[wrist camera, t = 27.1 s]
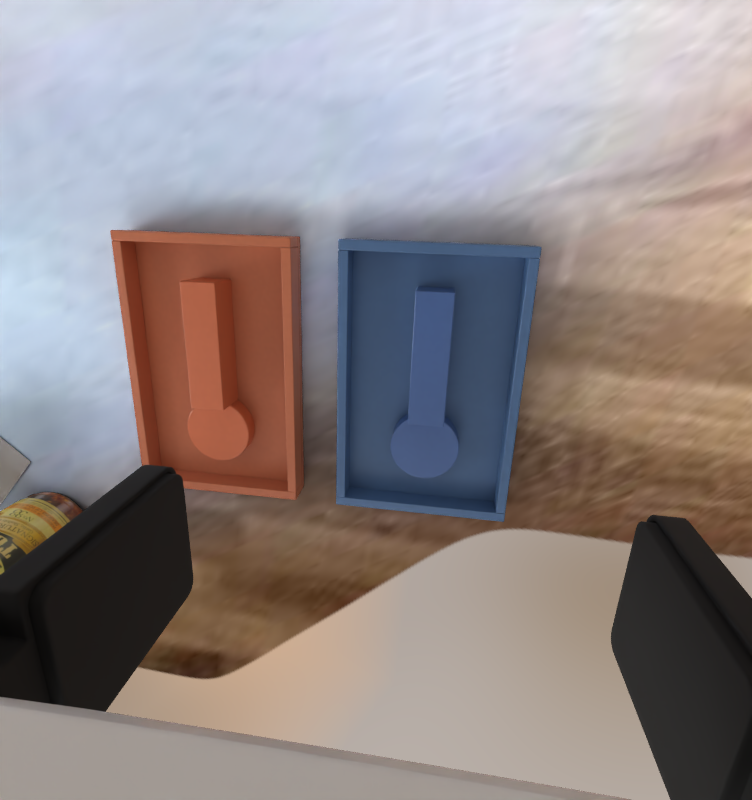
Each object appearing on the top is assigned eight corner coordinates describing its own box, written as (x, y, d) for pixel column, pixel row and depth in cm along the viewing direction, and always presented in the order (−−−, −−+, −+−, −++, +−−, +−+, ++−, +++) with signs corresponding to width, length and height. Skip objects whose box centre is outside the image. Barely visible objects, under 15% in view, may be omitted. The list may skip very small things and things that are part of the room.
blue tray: (345, 238, 30) (338, 238, 28) (535, 245, 29) (541, 246, 27) (342, 490, 36) (336, 504, 34) (500, 506, 34) (504, 521, 32)
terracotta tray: (129, 230, 32) (109, 230, 30) (300, 236, 30) (290, 237, 28) (159, 471, 37) (144, 484, 35) (304, 486, 36) (296, 500, 34)
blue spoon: (399, 285, 30) (395, 289, 28) (473, 288, 29) (475, 293, 27) (390, 467, 34) (386, 483, 32) (455, 473, 33) (456, 490, 31)
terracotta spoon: (182, 276, 32) (161, 280, 29) (248, 279, 31) (232, 283, 29) (198, 450, 36) (181, 465, 33) (256, 456, 35) (243, 471, 33)
